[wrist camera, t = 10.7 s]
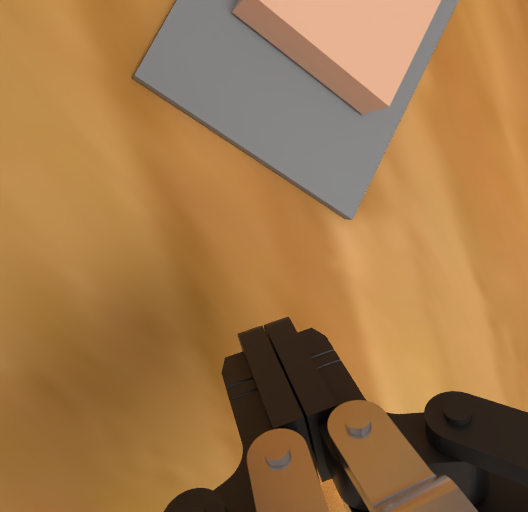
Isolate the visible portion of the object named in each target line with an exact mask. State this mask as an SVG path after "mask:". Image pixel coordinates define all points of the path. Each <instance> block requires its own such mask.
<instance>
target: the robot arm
mask: <svg viewBox="0 0 528 512" xmlns="http://www.w3.org/2000/svg"><path fill="white" fill-rule="evenodd" d="M264 330H265V331H264ZM238 338H239V341H240V345H241V348H242V351H243V352H240V353H237V354H234V355H232V356H229V357H226V358H225V361H224V365H223V369H222V376H223V379H224V383H225V386H226V389H227V393H228V396H229V400H230V403H231V407H232V410H233V414H234V417H235V420H236V424H237V427H238V431H239V434H240V438H241V441H242V445H243V455H242V460H241V462H240V465H239V466H238V468H237V470H236V471H235V473H234V474H233V475H232V476H231V477H230V478H229V479H228V480H227V481H225V482H224V483H223V484H221V485H220V486H219V487H217V488H216V489H215V490H213V491H212V490H210V489H206V488H195V489H191V490H187V491H185V492H183V493H181V494H180V495H178V496H177V497H176V498H174V499H173V500H172V501H171V502H170V503H169V505H168V506H167V507H166V509H165V510H164V512H329V509H328V506H327V503H326V500H325V497H324V494H323V491H322V488H321V485H320V481H319V477H318V473H319V475H320V477H321V480H322V482H324V481H326V480H329V479H331V478H332V479H333V482H334V484H335V486H336V488H337V490H338V492H339V495H340V496H341V498H342V499H343V503H344V506H345V508H346V510H347V512H528V412H524V411H521V410H518V409H515V408H512V407H509V406H505V405H502V404H499V403H496V402H493V401H490V400H487V399H483V398H480V397H477V396H474V395H471V394H468V393H464V392H457V391H450V392H444V393H440V394H438V395H436V396H434V397H433V398H432V399H430V400H429V402H428V403H427V404H426V407H425V411H424V412H423V413H410V414H391V413H386V412H385V411H384V410H383V409H382V408H381V407H379V406H378V405H376V404H375V403H372V402H369V401H366V399H365V398H364V396H363V395H362V393H361V392H360V390H359V388H358V387H357V385H356V384H355V382H354V380H353V379H352V377H351V376H350V374H349V373H348V371H347V369H346V368H345V366H344V365H343V363H342V361H340V358H339V357H338V355H337V353H336V352H335V351H334V349H333V347H332V345H331V344H330V342H329V341H328V339H327V337H326V336H325V335H323V334H321V333H320V332H318V331H316V330H315V329H313V328H310V329H307V330H304V331H301V332H298V333H297V331H296V329H295V327H294V325H293V324H292V322H291V320H290V318H289V317H286V318H283V319H280V320H277V321H274V322H271V323H268V324H265V325H264V328H263V326H259V327H256V328H253V329H250V330H247V331H244V332H241V333H238ZM316 468H317V469H316ZM317 470H318V473H317Z"/></svg>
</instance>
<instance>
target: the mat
mask: <svg viewBox="0 0 528 512" xmlns="http://www.w3.org/2000/svg"><path fill="white" fill-rule="evenodd" d="M237 2H238V0H176V2H175V4H174V6H173V7H172V9H171V11H170V13H169V14H168V16H167V18H166V20H165V21H164V23H163V25H162V27H161V28H160V30H159V32H158V34H157V36H156V37H155V39H154V41H153V43H152V44H151V46H150V48H149V50H148V51H147V53H146V55H145V57H144V59H143V60H142V62H141V64H140V66H139V67H138V69H137V71H136V73H135V74H134V76H133V79H134V80H136V81H137V82H139V83H140V84H142V85H143V86H145V87H146V88H148V89H149V90H151V91H152V92H154V93H155V94H157V95H158V96H160V97H162V98H163V99H165V100H166V101H168V102H169V103H171V104H172V105H174V106H175V107H177V108H178V109H180V110H181V111H183V112H184V113H186V114H187V115H189V116H190V117H192V118H193V119H195V120H196V121H198V122H199V123H201V124H202V125H204V126H206V127H207V128H209V129H210V130H212V131H213V132H215V133H216V134H218V135H219V136H221V137H222V138H224V139H225V140H227V141H228V142H230V143H231V144H233V145H234V146H236V147H237V148H239V149H240V150H242V151H243V152H245V153H246V154H248V155H250V156H251V157H253V158H254V159H256V160H257V161H259V162H260V163H262V164H263V165H265V166H266V167H268V168H269V169H271V170H272V171H274V172H275V173H277V174H278V175H280V176H281V177H283V178H284V179H286V180H287V181H289V182H290V183H292V184H294V185H295V186H297V187H298V188H300V189H301V190H303V191H304V192H306V193H307V194H309V195H310V196H312V197H313V198H315V199H316V200H318V201H319V202H321V203H322V204H324V205H325V206H327V207H328V208H330V209H331V210H333V211H334V212H336V213H338V214H339V215H341V216H342V217H344V218H345V219H349V220H352V219H353V217H354V215H355V213H356V211H357V209H358V207H359V205H360V203H361V201H362V198H363V196H364V194H365V192H366V190H367V188H368V186H369V184H370V182H371V180H372V178H373V176H374V174H375V172H376V170H377V168H378V165H379V163H380V161H381V159H382V157H383V155H384V153H385V151H386V149H387V147H388V145H389V143H390V141H391V139H392V137H393V134H394V132H395V130H396V128H397V126H398V124H399V122H400V120H401V118H402V116H403V114H404V112H405V110H406V108H407V106H408V103H409V101H410V99H411V97H412V95H413V93H414V91H415V89H416V87H417V85H418V83H419V81H420V79H421V77H422V75H423V73H424V70H425V68H426V66H427V64H428V62H429V60H430V58H431V56H432V54H433V52H434V50H435V48H436V46H437V44H438V42H439V39H440V37H441V35H442V33H443V31H444V29H445V27H446V25H447V23H448V21H449V19H450V17H451V15H452V13H453V11H454V9H455V6H456V4H457V2H458V0H441V2H440V4H439V6H438V8H437V10H436V12H435V14H434V16H433V18H432V20H431V22H430V25H429V27H428V29H427V31H426V33H425V35H424V37H423V39H422V41H421V43H420V45H419V47H418V49H417V51H416V53H415V55H414V57H413V59H412V61H411V63H410V65H409V67H408V69H407V72H406V74H405V76H404V78H403V80H402V82H401V84H400V86H399V88H398V90H397V92H396V94H395V96H394V98H393V100H392V102H391V104H390V106H389V107H386V108H383V109H380V110H376V111H373V112H370V113H367V114H363V115H362V114H361V113H360V112H359V111H357V110H356V109H355V108H353V107H352V106H351V105H350V104H348V103H347V102H346V101H345V100H343V99H342V98H341V97H339V96H338V95H337V94H336V93H334V92H333V91H332V90H331V89H329V88H328V87H327V86H325V85H324V84H323V83H322V82H320V81H319V80H318V79H317V78H315V77H314V76H313V75H311V74H310V73H309V72H308V71H306V70H305V69H304V68H302V67H301V66H300V65H299V64H297V63H296V62H295V61H294V60H292V59H291V58H290V57H288V56H287V55H286V54H285V53H283V52H282V51H281V50H280V49H278V48H277V47H276V46H274V45H273V44H272V43H271V42H269V41H268V40H267V39H265V38H264V37H263V36H262V35H260V34H259V33H258V32H257V31H255V30H254V29H253V28H251V27H250V26H249V25H248V24H246V23H245V22H244V21H243V20H241V19H240V18H239V17H237V16H236V15H235V14H234V13H232V11H233V9H234V7H235V6H236V4H237Z"/></svg>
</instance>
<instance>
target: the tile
mask: <svg viewBox="0 0 528 512" xmlns="http://www.w3.org/2000/svg"><path fill="white" fill-rule="evenodd" d="M440 2H441V0H238V2H237V4H236V6H235V7H234V9H233V11H232V13H234V14H235V15H236V16H237V17H239V18H240V19H241V20H243V21H244V22H245V23H246V24H248V25H249V26H250V27H251V28H253V29H254V30H255V31H257V32H258V33H259V34H260V35H262V36H263V37H264V38H265V39H267V40H268V41H269V42H271V43H272V44H273V45H274V46H276V47H277V48H278V49H280V50H281V51H282V52H283V53H285V54H286V55H287V56H288V57H290V58H291V59H292V60H294V61H295V62H296V63H297V64H299V65H300V66H301V67H302V68H304V69H305V70H306V71H308V72H309V73H310V74H311V75H313V76H314V77H315V78H317V79H318V80H319V81H320V82H322V83H323V84H324V85H325V86H327V87H328V88H329V89H331V90H332V91H333V92H334V93H336V94H337V95H338V96H339V97H341V98H342V99H343V100H345V101H346V102H347V103H348V104H350V105H351V106H352V107H353V108H355V109H356V110H357V111H359V112H360V113H361V114H362V115H363V114H367V113H370V112H373V111H376V110H380V109H383V108H386V107H389V106H390V104H391V102H392V100H393V98H394V96H395V94H396V92H397V90H398V88H399V86H400V84H401V82H402V80H403V78H404V76H405V74H406V72H407V69H408V67H409V65H410V63H411V61H412V59H413V57H414V55H415V53H416V51H417V49H418V47H419V45H420V43H421V41H422V39H423V37H424V35H425V33H426V31H427V29H428V27H429V25H430V22H431V20H432V18H433V16H434V14H435V12H436V10H437V8H438V6H439V4H440Z"/></svg>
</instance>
